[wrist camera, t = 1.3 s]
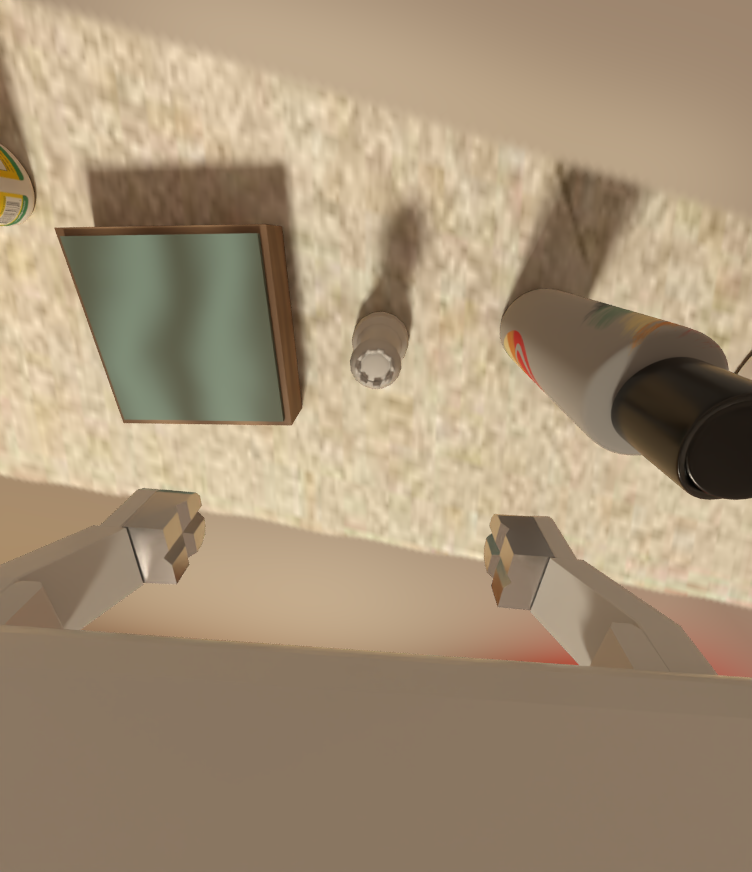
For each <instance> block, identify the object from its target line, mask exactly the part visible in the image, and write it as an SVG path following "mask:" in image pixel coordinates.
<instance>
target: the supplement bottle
mask: <svg viewBox="0 0 752 872" xmlns="http://www.w3.org/2000/svg"><path fill="white" fill-rule="evenodd" d="M34 202H35V198H34V191H33V187H32V183H31V181H30V178H29V176H28V174H27V172H26V171H25V169H24V168H23V166H22V165H21V164H20V162H19V161H18V160H17V158H16V157H15V156H14V155H13V154H12V153H11V152H10V151H9V150H8V149H7V148H6V147H4V146H3V145H1V144H0V226H15V225H19V224H21V223H23V222H25V221H26V220H27V219H28V218H29V217H30V216H31V214H32V212H33V208H34Z"/></svg>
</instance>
